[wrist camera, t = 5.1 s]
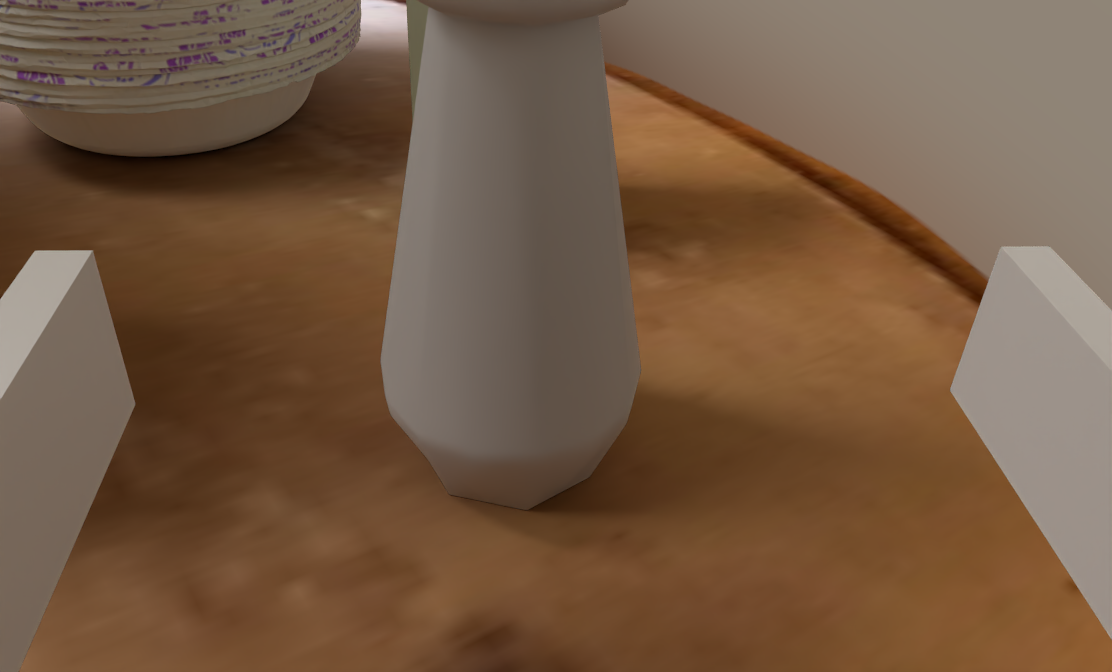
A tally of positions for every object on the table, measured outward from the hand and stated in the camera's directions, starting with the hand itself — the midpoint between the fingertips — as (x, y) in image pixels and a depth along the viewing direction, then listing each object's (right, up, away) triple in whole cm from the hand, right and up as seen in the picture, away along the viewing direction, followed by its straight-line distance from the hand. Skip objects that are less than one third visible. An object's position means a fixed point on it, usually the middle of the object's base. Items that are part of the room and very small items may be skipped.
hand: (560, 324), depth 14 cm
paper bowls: (-15, +9, +24) cm, 30 cm away
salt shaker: (-1, -3, +9) cm, 9 cm away
